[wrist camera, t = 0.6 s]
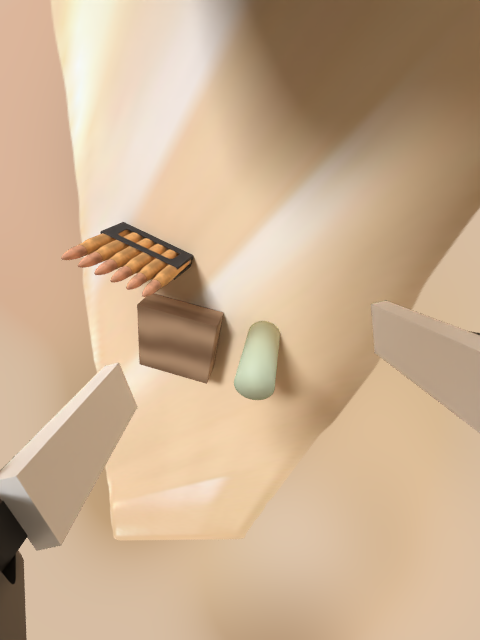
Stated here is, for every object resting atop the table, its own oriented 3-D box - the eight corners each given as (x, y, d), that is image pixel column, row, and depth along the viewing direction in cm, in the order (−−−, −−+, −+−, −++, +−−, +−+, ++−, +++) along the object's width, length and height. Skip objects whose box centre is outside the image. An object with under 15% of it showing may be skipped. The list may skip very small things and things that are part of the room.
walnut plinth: (150, 292, 40) (137, 304, 37) (223, 312, 40) (216, 326, 36) (150, 349, 47) (139, 364, 44) (213, 367, 46) (206, 383, 43)
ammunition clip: (193, 255, 36) (153, 292, 26) (190, 266, 37) (149, 306, 27) (122, 221, 35) (52, 246, 25) (121, 234, 36) (53, 262, 26)
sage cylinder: (252, 317, 39) (238, 365, 30) (284, 326, 39) (279, 377, 30) (245, 342, 42) (230, 393, 33) (275, 350, 42) (268, 404, 32)
